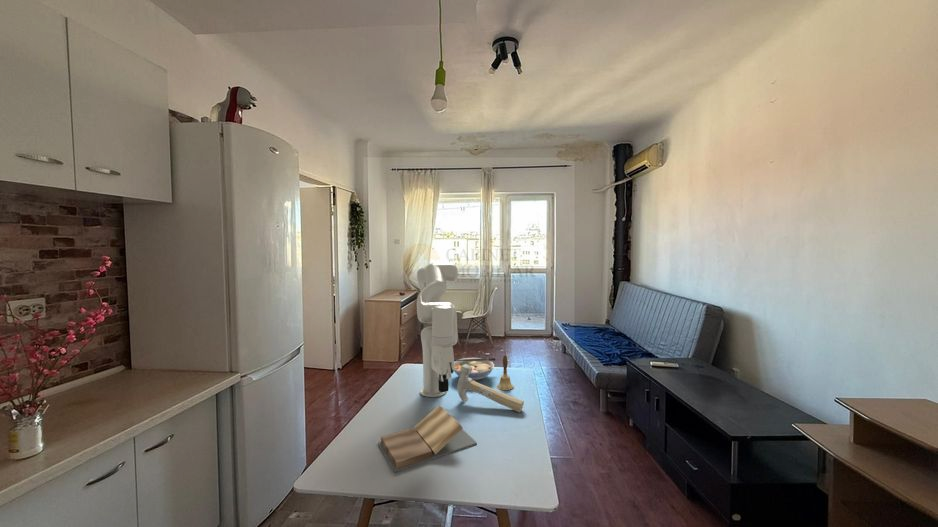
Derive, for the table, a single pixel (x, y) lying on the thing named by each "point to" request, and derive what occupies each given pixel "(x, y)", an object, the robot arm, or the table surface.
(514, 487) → the table surface
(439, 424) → the oak plank
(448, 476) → the table surface
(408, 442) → the floor section
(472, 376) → the ramen bowl
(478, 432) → the table surface
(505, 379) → the hand bell
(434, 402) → the table surface
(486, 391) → the hammer
